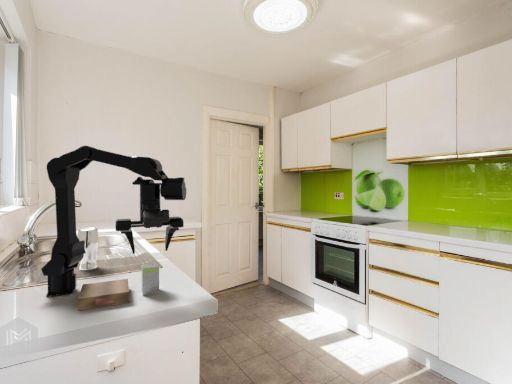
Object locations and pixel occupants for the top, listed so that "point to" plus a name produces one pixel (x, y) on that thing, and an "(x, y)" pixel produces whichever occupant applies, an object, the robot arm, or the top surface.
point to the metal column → (150, 279)
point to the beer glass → (89, 248)
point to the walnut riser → (103, 294)
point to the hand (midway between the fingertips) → (150, 252)
